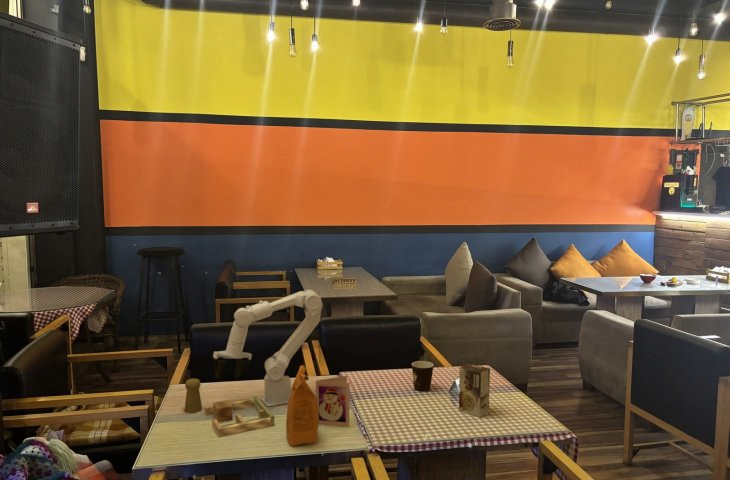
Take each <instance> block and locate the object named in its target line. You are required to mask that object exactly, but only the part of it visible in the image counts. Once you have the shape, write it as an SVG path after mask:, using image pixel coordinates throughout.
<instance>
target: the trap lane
mask: <svg viewBox="0 0 730 480" xmlns="http://www.w3.org/2000/svg"><path fill="white" fill-rule="evenodd" d="M230 404H231V405H232V410H233V411H236V409H238V410H243V409H247V407H249V408H253V407H254V408H255V409H256V410H257V412H258V418H254V419H249V420H245V419H244V418H243V417H242V415H241V414H240V413H239V414H235V416H234V417H235V422H234V423H228V424H223V425H221V424H220V423H218V421H217V420H216V419H215V418H212V419H211V422H212V424H211V425H212V426H211V427H212V428H214V429H213V430H214V432H215V434H216V435H217V437H224V436H229V435H235V434H239V433H244V432H249V431H253V430H254V431H255V430H258V429H259V430H260V429H263V428H269V427H274V426H275V415H274V414H273V413H272V412H271V411H270V409H269V408H267V406H266V404H265V403H264V402H263V401H262V400H261V399H260V398H259V397H258V395H257V396H255V395H254V396H253V397H252V398H250V399H245V400H244V399H243V400H238V401H232V402H230ZM242 408H243V409H242ZM204 415H205V416H210V415H211V416H212V415H213V405H211V406H205V407H204Z"/></svg>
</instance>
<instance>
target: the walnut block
mask: <svg viewBox="0 0 730 480" xmlns="http://www.w3.org/2000/svg"><path fill="white" fill-rule="evenodd" d="M230 403H231V402H230V401H229V400H221V401H216V402H215V401H214V402H213V405H212V406H213V414H212V415H213V416H214V417H213V419H216V420H217V421H218V423H219V422H221V423H225V421H226V422H231V421H233V420H234V419H233V411H232V405H231V404H230ZM219 424H220V423H219Z"/></svg>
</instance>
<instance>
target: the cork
mask: <svg viewBox="0 0 730 480" xmlns="http://www.w3.org/2000/svg"><path fill="white" fill-rule="evenodd" d="M184 387H185V389H186V392H185V393H186V394H185V402H184V412H185V413H187V414H197V413H199V411H200V412H201V411H202V410H203V405H202V399H201V393H200V392H201V391H200V388H201V380H200V379H198V378H188V379H187V380H186V382H185V383H184ZM196 412H197V413H196Z"/></svg>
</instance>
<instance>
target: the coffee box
mask: <svg viewBox="0 0 730 480" xmlns="http://www.w3.org/2000/svg"><path fill="white" fill-rule="evenodd" d="M458 372H459V375H458V376H459V377H458V379H459V383H458V386H459V387H458V389H459V390H458V394H459V395H458V412H462V413H466V414H468V415H472V416H475V417H478V418H481V417H484V416H485V415H487V414H489V413H490V381H491V380H490V378H491V376H490V375H491V373H490V372H491V368H489V367H485V366H482V365H477V364H472V363H467V364H464V365H462V366H460V367H459V371H458Z"/></svg>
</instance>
